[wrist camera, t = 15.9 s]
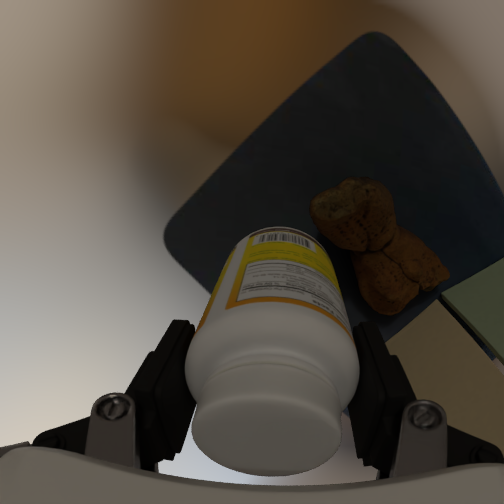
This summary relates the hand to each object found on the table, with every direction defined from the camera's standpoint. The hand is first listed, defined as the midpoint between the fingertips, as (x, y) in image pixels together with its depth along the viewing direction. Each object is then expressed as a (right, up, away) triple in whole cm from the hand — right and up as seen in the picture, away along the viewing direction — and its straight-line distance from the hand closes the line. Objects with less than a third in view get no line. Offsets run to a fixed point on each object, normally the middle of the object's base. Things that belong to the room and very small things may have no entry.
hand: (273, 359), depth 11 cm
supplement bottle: (+1, +3, +6) cm, 6 cm away
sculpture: (+10, +5, +16) cm, 20 cm away
